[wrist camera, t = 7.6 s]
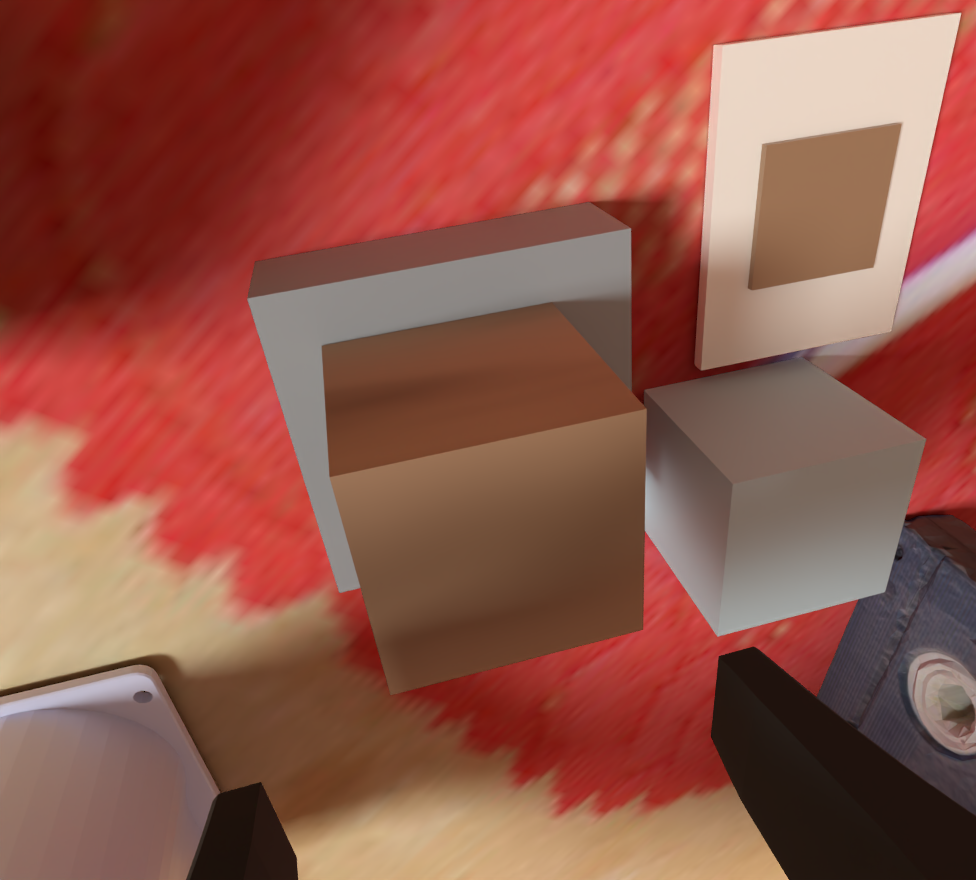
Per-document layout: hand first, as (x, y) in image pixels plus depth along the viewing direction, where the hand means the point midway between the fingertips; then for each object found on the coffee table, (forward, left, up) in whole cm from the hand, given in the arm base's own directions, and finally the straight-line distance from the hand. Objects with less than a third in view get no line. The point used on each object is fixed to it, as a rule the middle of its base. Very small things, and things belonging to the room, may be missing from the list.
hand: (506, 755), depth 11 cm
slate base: (+2, -1, -10) cm, 10 cm away
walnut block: (+2, -1, -7) cm, 8 cm away
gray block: (-2, -9, -10) cm, 14 cm away
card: (+5, -11, -10) cm, 16 cm away
